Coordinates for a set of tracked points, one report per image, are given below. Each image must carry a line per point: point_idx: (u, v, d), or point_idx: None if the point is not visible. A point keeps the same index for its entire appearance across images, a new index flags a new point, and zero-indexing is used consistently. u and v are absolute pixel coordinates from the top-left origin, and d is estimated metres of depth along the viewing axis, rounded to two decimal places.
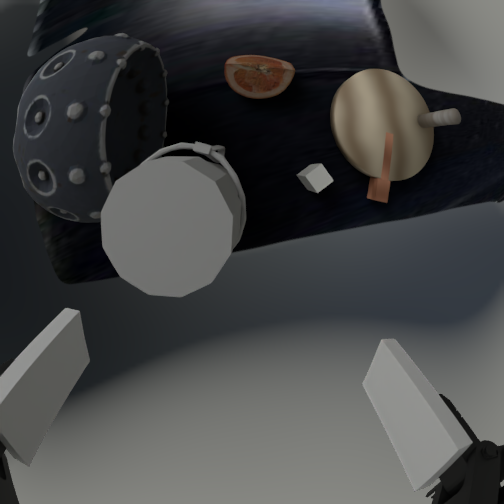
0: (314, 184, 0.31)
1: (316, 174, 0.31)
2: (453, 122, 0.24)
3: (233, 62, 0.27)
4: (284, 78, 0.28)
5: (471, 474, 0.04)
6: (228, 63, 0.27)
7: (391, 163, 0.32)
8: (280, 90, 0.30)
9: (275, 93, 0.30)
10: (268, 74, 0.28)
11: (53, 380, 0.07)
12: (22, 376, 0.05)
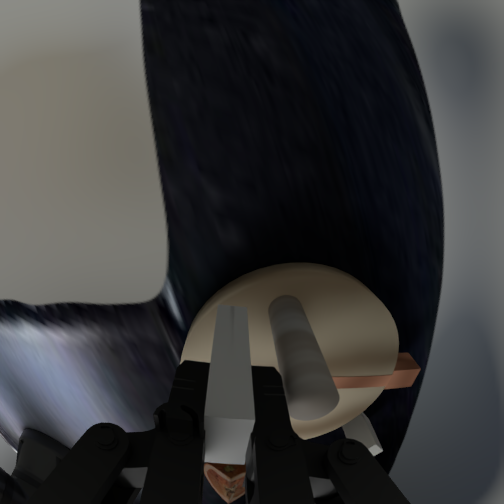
0: (373, 455, 0.20)
1: None
2: None
3: (225, 498, 0.23)
4: (240, 477, 0.21)
5: (256, 474, 0.05)
6: (227, 501, 0.22)
7: (368, 375, 0.18)
8: None
9: None
10: (236, 484, 0.22)
11: None
12: (233, 371, 0.08)
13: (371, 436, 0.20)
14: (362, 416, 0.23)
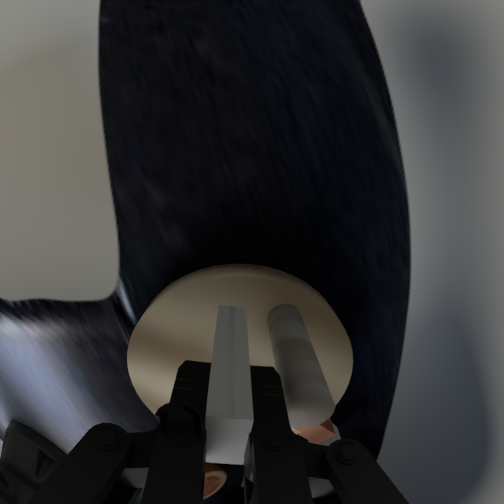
0: None
1: None
2: None
3: None
4: None
5: (255, 475, 0.05)
6: None
7: None
8: (216, 472, 0.22)
9: (220, 472, 0.23)
10: None
11: None
12: (234, 371, 0.08)
13: None
14: None
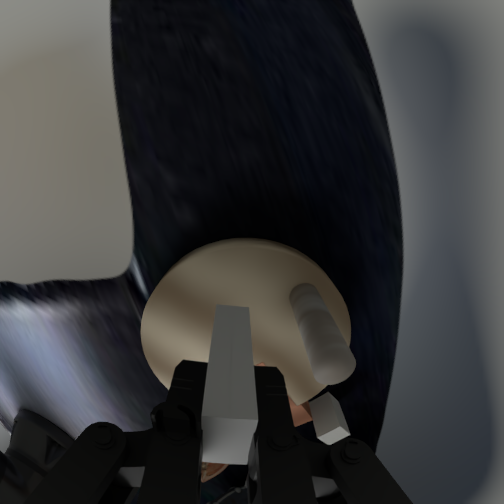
0: (340, 438, 0.22)
1: (329, 438, 0.22)
2: None
3: None
4: None
5: (259, 474, 0.05)
6: (201, 480, 0.25)
7: (287, 391, 0.21)
8: None
9: None
10: None
11: None
12: (230, 370, 0.08)
13: (336, 418, 0.22)
14: (329, 398, 0.25)
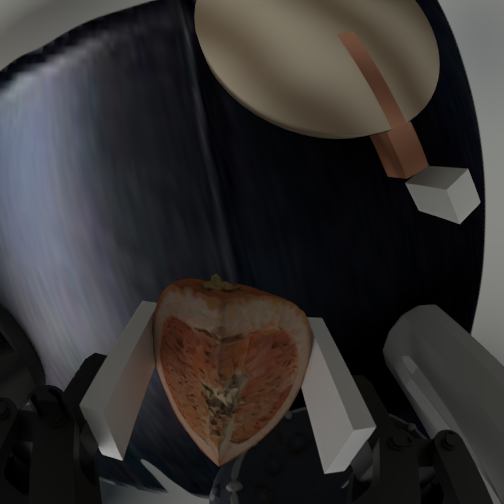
0: (471, 207, 0.13)
1: (460, 202, 0.13)
2: None
3: (208, 447, 0.09)
4: (257, 324, 0.08)
5: (378, 470, 0.05)
6: (215, 459, 0.09)
7: (389, 86, 0.13)
8: (297, 316, 0.09)
9: (305, 327, 0.10)
10: (244, 373, 0.08)
11: (141, 370, 0.09)
12: (124, 367, 0.07)
13: (456, 169, 0.14)
14: (431, 167, 0.16)
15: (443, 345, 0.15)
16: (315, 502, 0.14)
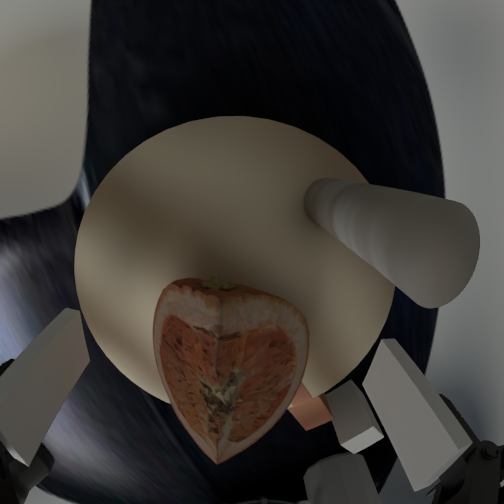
0: (370, 443, 0.15)
1: (356, 445, 0.14)
2: None
3: (206, 445, 0.09)
4: (254, 323, 0.08)
5: (471, 474, 0.04)
6: (213, 457, 0.09)
7: None
8: (295, 315, 0.09)
9: (303, 326, 0.10)
10: (242, 372, 0.09)
11: (53, 380, 0.07)
12: (22, 376, 0.05)
13: (366, 415, 0.15)
14: (353, 387, 0.18)
15: (336, 500, 0.16)
16: None
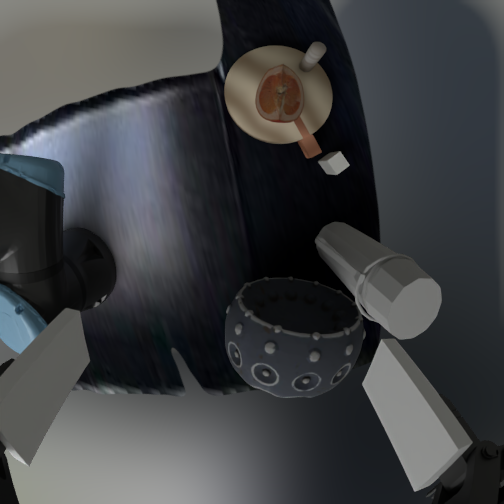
0: (343, 167, 0.37)
1: (336, 165, 0.37)
2: (320, 54, 0.27)
3: (275, 114, 0.32)
4: (289, 73, 0.31)
5: (471, 474, 0.04)
6: (278, 117, 0.32)
7: (303, 120, 0.37)
8: (298, 79, 0.32)
9: (301, 84, 0.33)
10: (286, 86, 0.31)
11: (53, 380, 0.07)
12: (22, 376, 0.05)
13: (337, 152, 0.38)
14: (330, 153, 0.41)
15: (338, 231, 0.39)
16: (284, 326, 0.38)
